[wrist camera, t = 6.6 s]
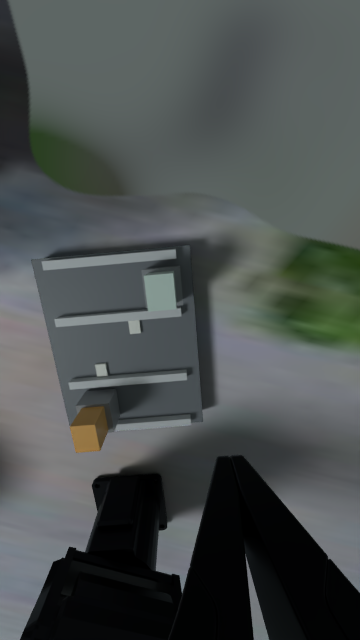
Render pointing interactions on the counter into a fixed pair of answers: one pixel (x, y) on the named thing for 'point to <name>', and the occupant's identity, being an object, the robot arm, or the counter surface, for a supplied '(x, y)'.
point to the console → (122, 335)
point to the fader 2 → (162, 288)
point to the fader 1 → (94, 419)
